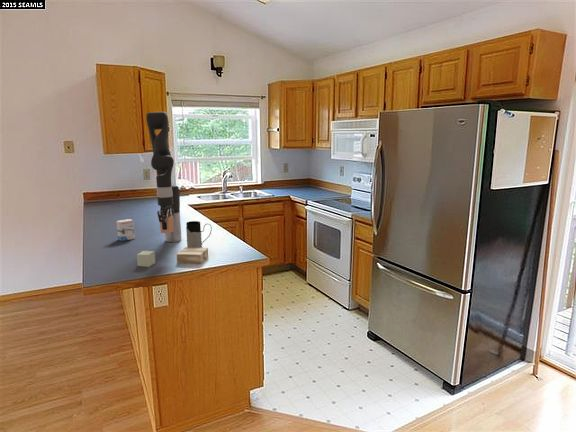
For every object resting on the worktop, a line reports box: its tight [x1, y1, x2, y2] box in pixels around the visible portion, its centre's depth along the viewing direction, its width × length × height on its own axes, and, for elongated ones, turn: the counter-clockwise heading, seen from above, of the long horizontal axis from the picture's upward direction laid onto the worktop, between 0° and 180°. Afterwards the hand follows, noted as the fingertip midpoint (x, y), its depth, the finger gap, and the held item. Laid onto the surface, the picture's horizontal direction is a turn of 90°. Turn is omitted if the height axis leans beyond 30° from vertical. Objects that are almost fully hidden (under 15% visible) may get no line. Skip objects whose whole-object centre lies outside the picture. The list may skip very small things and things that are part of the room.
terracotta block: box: [159, 216, 174, 234], centre depth 194 cm, size 5×5×8 cm
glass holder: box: [185, 220, 212, 248], centre depth 211 cm, size 9×14×15 cm, turn 111°
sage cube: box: [136, 250, 156, 268], centre depth 185 cm, size 6×6×6 cm
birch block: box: [176, 246, 209, 265], centre depth 192 cm, size 12×12×5 cm
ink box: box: [116, 218, 136, 242], centre depth 229 cm, size 9×5×12 cm, turn 135°
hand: (167, 228), depth 194 cm, fingers closed on terracotta block, 5 cm apart
